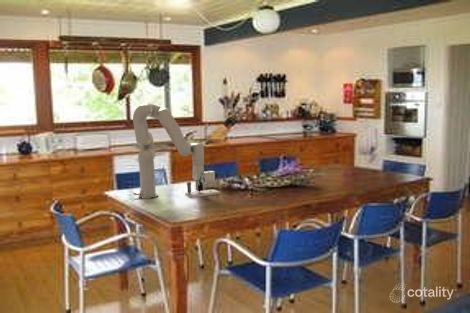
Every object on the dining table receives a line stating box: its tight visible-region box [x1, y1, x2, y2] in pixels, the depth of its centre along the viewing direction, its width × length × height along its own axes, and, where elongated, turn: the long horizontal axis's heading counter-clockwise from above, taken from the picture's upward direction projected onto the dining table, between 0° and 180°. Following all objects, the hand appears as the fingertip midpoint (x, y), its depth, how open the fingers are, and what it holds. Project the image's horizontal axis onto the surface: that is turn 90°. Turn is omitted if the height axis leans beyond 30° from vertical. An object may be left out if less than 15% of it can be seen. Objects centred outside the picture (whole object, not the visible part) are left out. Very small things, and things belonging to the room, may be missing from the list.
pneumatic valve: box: [200, 169, 218, 188], centre depth 349 cm, size 6×12×12 cm, turn 113°
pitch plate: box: [184, 181, 221, 199], centre depth 323 cm, size 20×10×9 cm, turn 116°
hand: (199, 190), depth 323 cm, fingers closed on slider leg, 3 cm apart
